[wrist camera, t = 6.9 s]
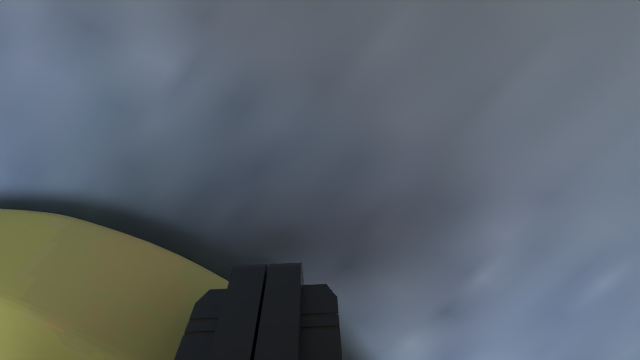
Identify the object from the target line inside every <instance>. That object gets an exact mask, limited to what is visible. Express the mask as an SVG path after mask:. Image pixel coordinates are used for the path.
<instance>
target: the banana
mask: <svg viewBox="0 0 640 360" xmlns="http://www.w3.org/2000/svg"><path fill="white" fill-rule="evenodd" d="M228 283H229V281H227V280H226V279H224V278H222V277H220V276H218V275H216V274H215V273H213V272H211V271H209V270H207V269H206V268H204V267H202V266H200V265H198V264H196V263H194V262H192V261H190V260H188V259H186V258H184V257H182V256H180V255H178V254H176V253H173V252H171V251H169V250H166V249H164V248H162V247H159V246H157V245H155V244H152V243H150V242H147V241H145V240H142V239H139V238H136V237H134V236H131V235H128V234H125V233H122V232H119V231H116V230H113V229H110V228H107V227H104V226H101V225H97V224H94V223H91V222H88V221H85V220H81V219H77V218H73V217H69V216H65V215H60V214H54V213H47V212H38V211H28V210H12V209H0V360H174V358H175V356H176V353H177V350H178V348H179V345H180V342H181V340H182V337H183V335H184V332H185V329H186V326H187V324H188V322H189V318H190V316H191V313H192V310H193V307H194V305H195V303H196V302H197V301H198V300H199V299H200V298H201V297H202V296H203V295H204V294H205V293H206V292H207V291H209V290H210V289H227V287H228Z"/></svg>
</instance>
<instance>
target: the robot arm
mask: <svg viewBox="0 0 640 360" xmlns="http://www.w3.org/2000/svg"><path fill="white" fill-rule="evenodd" d="M174 360H342V353H341V341H340V329H339V316H338V304H337V296H336V295H335V294H334V293H333V292H332V290H331V289H330V288H329V287H328V286H327V284H319V285H304V284H303V269H302V263H285V264H269V267H268V266H267V264H264V265H241V266H234V267H233V269H232V273H231V276H230V280H229V283H228V287H227V289H210V290H209V291H207V292H206V293H205V294H204V295H203V296H202V297H201V298H200V299H199V300H198V301H197V302H196V303H195V305H194V307H193V310H192V313H191V316H190V318H189V322H188V324H187V326H186V329H185V332H184V335H183V337H182V340H181V342H180V345H179V348H178V350H177V353H176V356H175V358H174Z"/></svg>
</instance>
